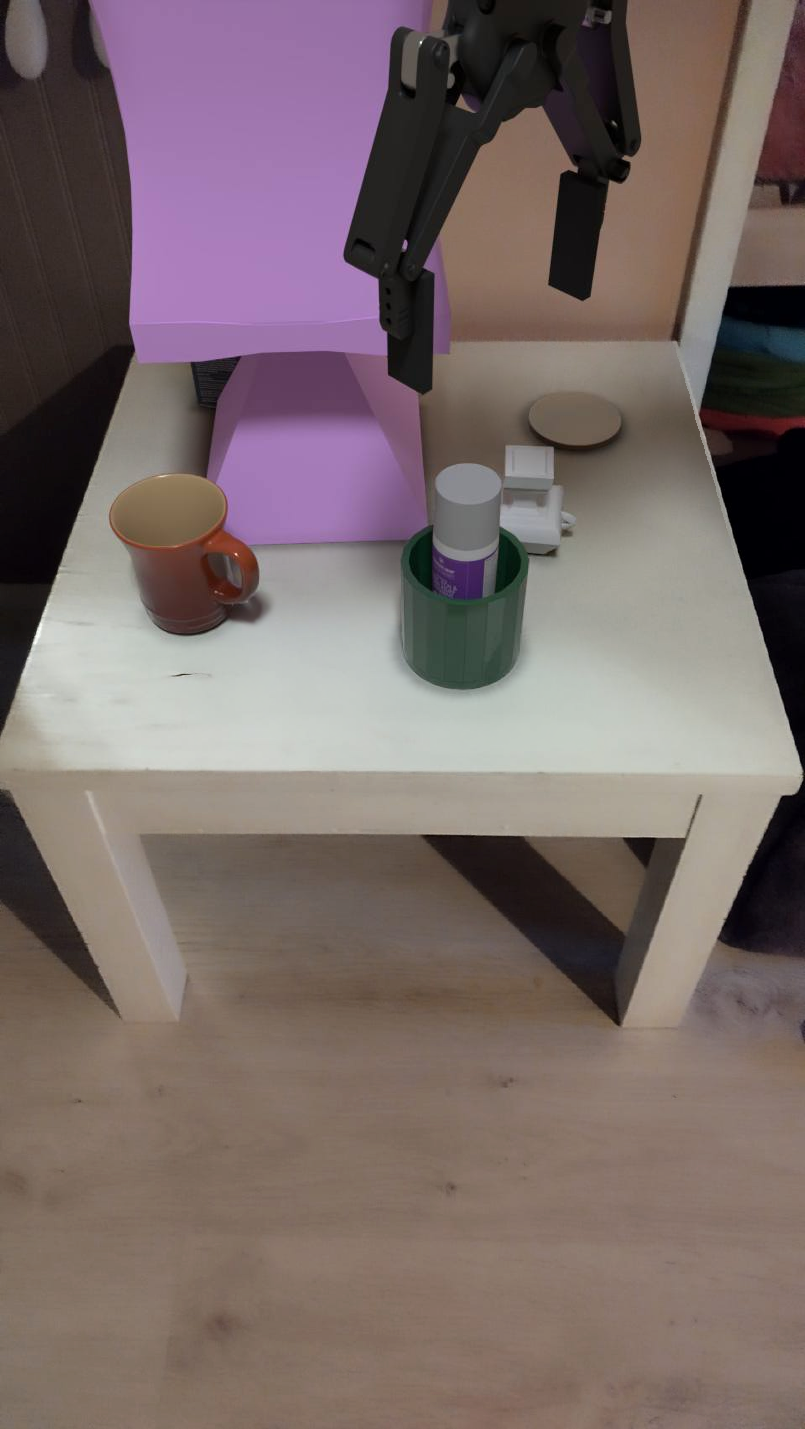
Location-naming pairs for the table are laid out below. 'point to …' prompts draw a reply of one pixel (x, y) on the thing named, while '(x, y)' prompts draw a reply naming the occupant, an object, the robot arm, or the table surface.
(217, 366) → the box
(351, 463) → the chair
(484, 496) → the container
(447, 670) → the cup
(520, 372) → the table surface
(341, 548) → the table surface
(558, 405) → the coaster
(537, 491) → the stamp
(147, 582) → the mug
